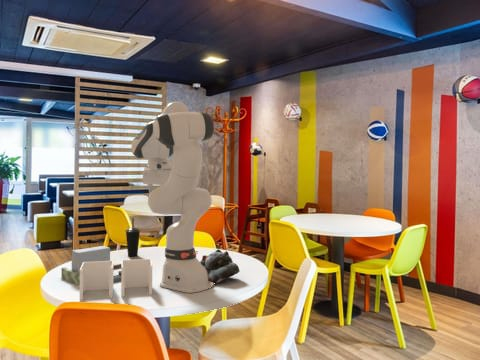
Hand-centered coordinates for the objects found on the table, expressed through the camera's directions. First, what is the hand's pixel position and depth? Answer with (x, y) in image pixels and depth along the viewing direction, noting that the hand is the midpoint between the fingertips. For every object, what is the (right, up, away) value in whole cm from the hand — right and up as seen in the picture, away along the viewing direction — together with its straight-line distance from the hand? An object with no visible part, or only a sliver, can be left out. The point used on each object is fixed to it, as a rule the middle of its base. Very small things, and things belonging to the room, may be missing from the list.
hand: (157, 194), depth 186 cm
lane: (-21, -34, -18) cm, 44 cm away
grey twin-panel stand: (-6, -36, -41) cm, 55 cm away
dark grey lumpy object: (+31, -36, -23) cm, 52 cm away
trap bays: (-20, -34, -17) cm, 43 cm away
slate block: (-24, -35, -21) cm, 47 cm away
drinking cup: (-17, -33, +19) cm, 42 cm away
